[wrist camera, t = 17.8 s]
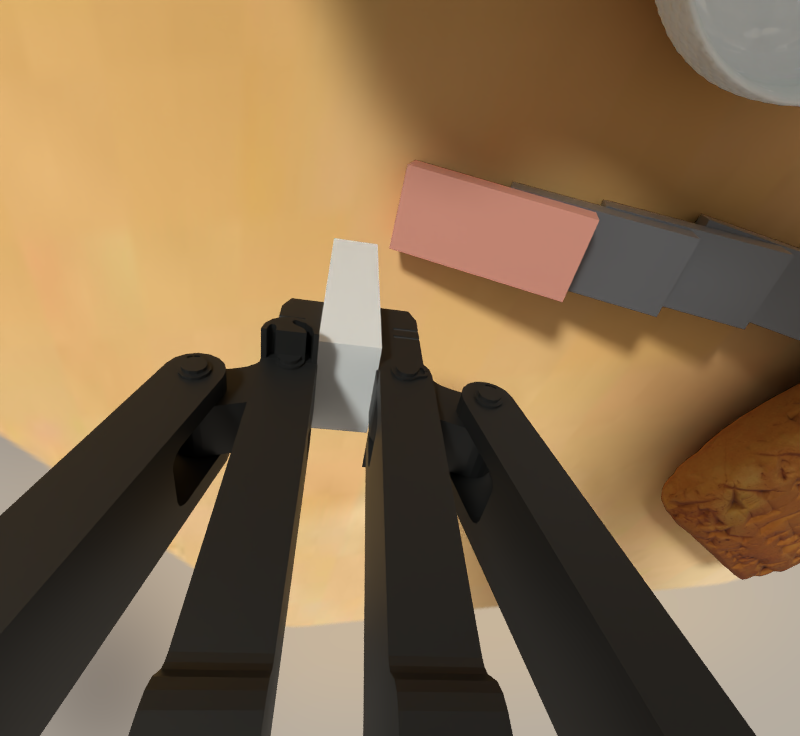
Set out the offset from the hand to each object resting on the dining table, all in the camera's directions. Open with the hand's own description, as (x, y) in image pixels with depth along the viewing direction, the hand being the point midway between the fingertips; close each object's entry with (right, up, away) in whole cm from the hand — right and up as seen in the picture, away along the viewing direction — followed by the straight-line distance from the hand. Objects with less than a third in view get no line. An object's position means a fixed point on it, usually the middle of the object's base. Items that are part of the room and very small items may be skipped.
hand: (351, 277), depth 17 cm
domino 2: (+8, +6, +13) cm, 17 cm away
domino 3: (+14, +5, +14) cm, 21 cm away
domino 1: (+2, +7, +12) cm, 14 cm away
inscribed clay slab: (+36, -9, +27) cm, 46 cm away
